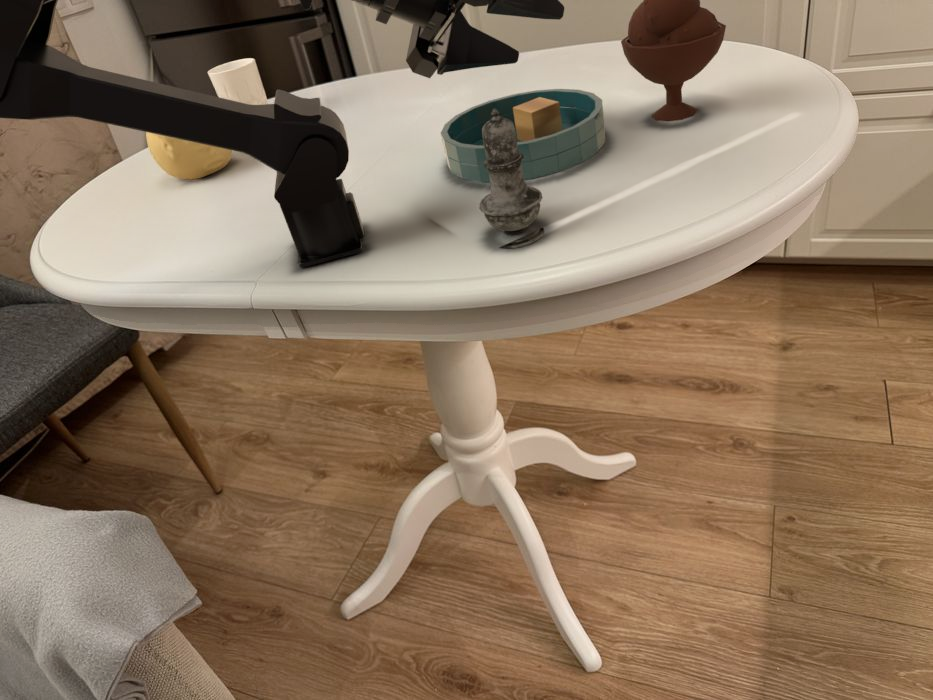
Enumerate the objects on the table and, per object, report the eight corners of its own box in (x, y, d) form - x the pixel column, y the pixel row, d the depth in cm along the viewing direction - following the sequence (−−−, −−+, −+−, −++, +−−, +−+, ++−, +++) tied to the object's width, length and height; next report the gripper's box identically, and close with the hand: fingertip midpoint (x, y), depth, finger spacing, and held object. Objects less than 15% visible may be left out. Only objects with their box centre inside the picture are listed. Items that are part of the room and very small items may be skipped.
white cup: (223, 136, 117) (198, 76, 111) (245, 120, 123) (222, 62, 117) (263, 131, 114) (239, 69, 109) (283, 115, 120) (262, 55, 115)
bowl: (463, 202, 74) (455, 162, 71) (439, 149, 89) (431, 115, 87) (629, 158, 75) (627, 117, 72) (577, 113, 90) (573, 78, 87)
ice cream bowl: (744, 113, 79) (749, -34, 70) (660, 143, 76) (654, -5, 68) (687, 96, 87) (684, -38, 78) (609, 122, 85) (599, -12, 76)
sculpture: (188, 192, 96) (152, 115, 90) (152, 181, 104) (118, 109, 98) (256, 160, 102) (228, 85, 96) (218, 151, 110) (189, 82, 104)
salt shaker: (477, 233, 67) (451, 111, 60) (531, 214, 68) (512, 91, 61) (500, 256, 62) (474, 126, 56) (558, 235, 63) (540, 105, 57)
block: (536, 146, 82) (531, 112, 79) (517, 140, 85) (512, 107, 82) (563, 135, 83) (559, 101, 81) (544, 129, 86) (539, 96, 84)
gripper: (427, -199, 51) (608, -108, 56) (370, -54, 68) (512, 5, 73) (399, -59, 50) (585, 20, 55) (348, 52, 67) (493, 104, 72)
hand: (538, 36), depth 64 cm, fingers open, 9 cm apart
